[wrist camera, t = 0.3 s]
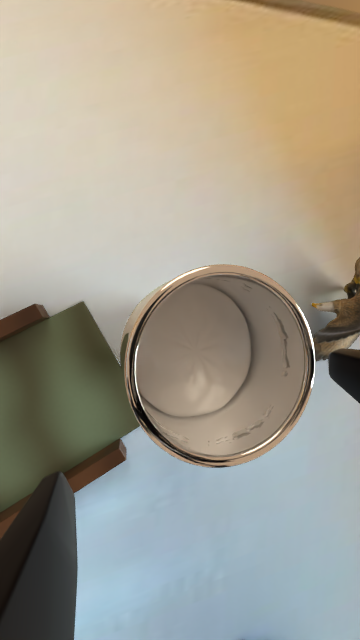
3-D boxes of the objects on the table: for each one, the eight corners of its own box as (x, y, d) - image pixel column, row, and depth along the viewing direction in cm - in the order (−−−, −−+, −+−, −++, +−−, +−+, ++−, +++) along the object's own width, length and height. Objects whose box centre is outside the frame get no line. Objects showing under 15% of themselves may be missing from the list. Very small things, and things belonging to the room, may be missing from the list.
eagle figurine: (313, 256, 25) (288, 336, 22) (410, 250, 20) (392, 352, 17) (326, 297, 30) (306, 366, 27) (406, 301, 25) (391, 385, 22)
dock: (76, 288, 21) (71, 285, 19) (156, 429, 22) (158, 439, 21) (-132, 388, 18) (-161, 395, 16) (-25, 544, 19) (-40, 566, 18)
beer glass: (119, 372, 22) (103, 478, 7) (127, 294, 22) (130, 239, 7) (194, 376, 23) (312, 473, 8) (202, 303, 23) (329, 274, 9)
